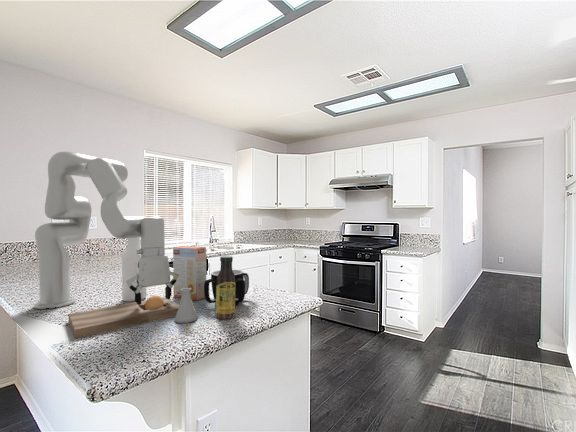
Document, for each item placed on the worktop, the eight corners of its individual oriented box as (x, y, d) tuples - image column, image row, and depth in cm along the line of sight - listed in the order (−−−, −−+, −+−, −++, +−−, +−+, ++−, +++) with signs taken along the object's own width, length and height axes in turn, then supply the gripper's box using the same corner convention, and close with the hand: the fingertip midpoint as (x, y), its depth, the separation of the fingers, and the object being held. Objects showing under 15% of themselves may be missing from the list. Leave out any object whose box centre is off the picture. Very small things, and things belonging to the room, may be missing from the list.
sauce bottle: (218, 321, 96) (217, 258, 96) (213, 315, 102) (212, 256, 102) (238, 317, 99) (237, 257, 99) (232, 312, 105) (231, 254, 105)
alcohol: (130, 303, 118) (129, 226, 118) (117, 300, 123) (116, 225, 123) (150, 297, 125) (149, 225, 125) (138, 295, 130) (137, 225, 130)
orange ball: (146, 315, 106) (138, 302, 104) (160, 303, 111) (153, 290, 108) (156, 318, 103) (148, 304, 101) (170, 306, 107) (162, 293, 105)
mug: (214, 297, 125) (214, 268, 125) (253, 298, 123) (252, 268, 123) (199, 309, 108) (198, 276, 108) (243, 310, 107) (242, 276, 107)
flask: (190, 324, 94) (190, 292, 94) (169, 323, 95) (169, 291, 95) (202, 316, 101) (201, 286, 101) (182, 315, 102) (181, 286, 102)
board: (68, 321, 98) (68, 314, 98) (164, 303, 117) (164, 296, 117) (75, 338, 84) (74, 329, 84) (182, 314, 103) (182, 307, 103)
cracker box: (207, 297, 125) (206, 246, 125) (195, 301, 119) (195, 248, 119) (184, 293, 132) (184, 245, 132) (173, 296, 127) (172, 246, 127)
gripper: (128, 255, 98) (129, 309, 98) (181, 251, 109) (182, 298, 109) (122, 253, 103) (123, 304, 103) (174, 249, 114) (174, 294, 114)
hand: (153, 301), depth 106 cm, fingers open, 9 cm apart
